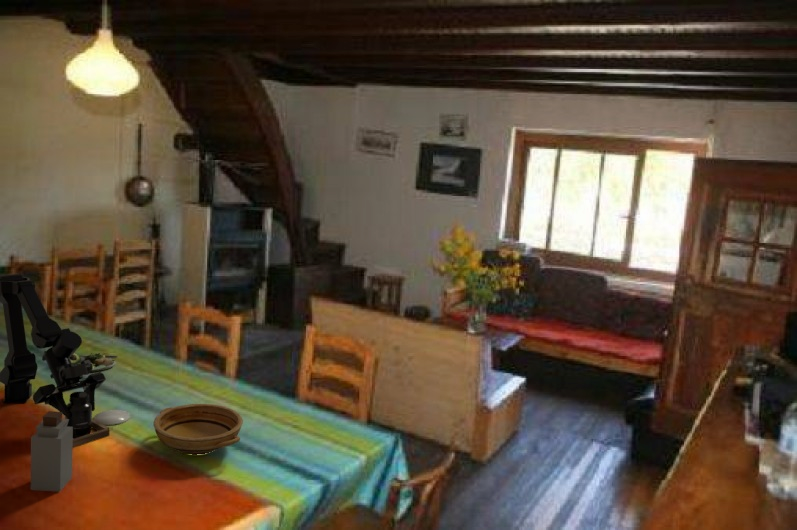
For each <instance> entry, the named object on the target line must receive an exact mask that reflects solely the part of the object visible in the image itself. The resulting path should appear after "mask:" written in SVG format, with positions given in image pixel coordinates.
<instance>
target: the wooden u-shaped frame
mask: <svg viewBox="0 0 797 530" xmlns="http://www.w3.org/2000/svg"><path fill="white" fill-rule="evenodd" d="M91 429H94V430H95V429H96V431H95V432H91V433H90V434H88V435H84V436H81V437H78V438H75V439H73V447H72V449H73V448H76V447H79V446H81V445H84V444H88V443H91V442H95V441H96V440H100V439H103V438H106V437H109V436H110V430H111V429H110V427H109V426H108V425H103V424H101V423H99V422H98V421H96V420H94V418H92V425H91ZM97 430H98V431H97Z"/></svg>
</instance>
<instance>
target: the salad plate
mask: <svg viewBox="0 0 797 530" xmlns="http://www.w3.org/2000/svg"><path fill="white" fill-rule="evenodd" d="M69 358H70V360H71V362H72V363H75V364H76V366H77V365H81V362H82V361H85V360H90V362H91V364H92V367H93V369H92V370H91V371H88V374H91V373H98V372H101V371H105V370H109V369H111V368H113V367H114V366H115V365H116V362H115V361H114V359H116V358H118V355H108V354H107V355H105V353H103V354H101V353H100V352H99V353H98V352H95V353H93V352H91V353H90V354H83V355H79V354H78V353H76V352H75V353H74V354H73V355H72V356H71V357H69ZM98 366H105V367H101V368H95V367H98Z"/></svg>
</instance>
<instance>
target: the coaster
mask: <svg viewBox="0 0 797 530" xmlns="http://www.w3.org/2000/svg"><path fill="white" fill-rule="evenodd" d="M93 419H94V420H96V421H98V422H99V423H101V424H103V425H105V426H116V425H115V424H118V425H122V424H124V422H125V423H127V422H128V421H129V420H130V419H131V413H129V412H128V411H124V410H121V409H110V410H104V411H101V412H98V413H96V414H95V415H94V417H93ZM126 421H127V422H126ZM121 423H122V424H121Z"/></svg>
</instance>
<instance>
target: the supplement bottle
mask: <svg viewBox="0 0 797 530" xmlns="http://www.w3.org/2000/svg"><path fill="white" fill-rule="evenodd" d="M88 401H89V394H88V393H87V392H84V391H74V392H72V393H70V394H69V402H68V403H67V404H66V405H67V407H68V409H69V412H70V415H71V417H70V418H67V417H66V416H65V415H64V419H69V421H68V424H67V427H73V439H75V438H78V437H81V436H84V435H88V434H91V433H92V427H91V425H92V419H93V411H92V404H91V403H90V402H88Z"/></svg>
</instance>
